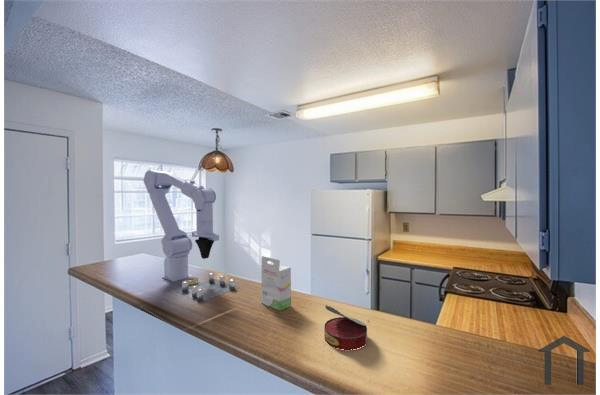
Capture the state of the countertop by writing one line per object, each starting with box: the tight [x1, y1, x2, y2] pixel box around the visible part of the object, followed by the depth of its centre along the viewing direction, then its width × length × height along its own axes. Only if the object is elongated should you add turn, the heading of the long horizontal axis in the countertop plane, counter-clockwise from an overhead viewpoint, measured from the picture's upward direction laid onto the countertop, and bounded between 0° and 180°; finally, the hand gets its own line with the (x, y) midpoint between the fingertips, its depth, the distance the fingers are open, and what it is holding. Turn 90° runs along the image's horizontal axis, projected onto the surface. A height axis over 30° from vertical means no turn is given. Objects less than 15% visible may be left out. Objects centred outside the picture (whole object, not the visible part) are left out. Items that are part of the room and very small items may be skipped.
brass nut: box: [183, 276, 199, 286], centre depth 104 cm, size 5×5×2 cm
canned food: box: [323, 304, 368, 351], centre depth 67 cm, size 11×10×10 cm
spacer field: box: [174, 272, 241, 303], centre depth 98 cm, size 15×16×4 cm
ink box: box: [260, 255, 292, 312], centre depth 86 cm, size 9×5×15 cm, turn 47°
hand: (205, 258), depth 105 cm, fingers closed
